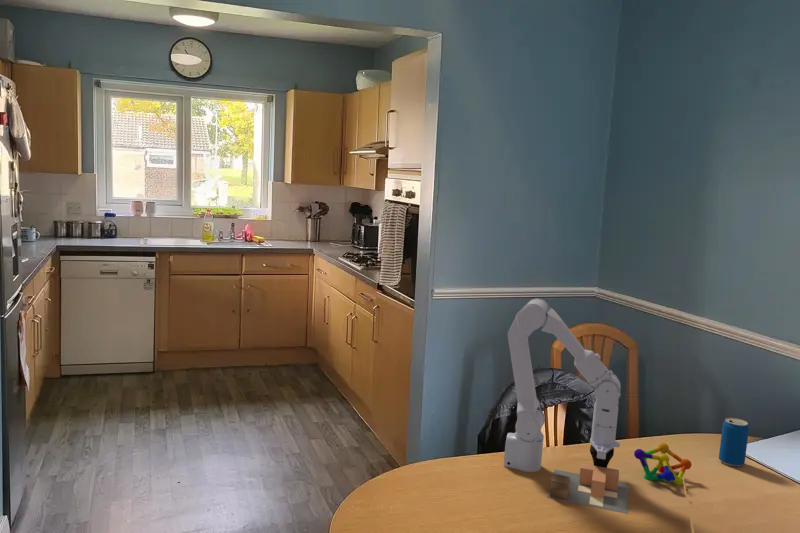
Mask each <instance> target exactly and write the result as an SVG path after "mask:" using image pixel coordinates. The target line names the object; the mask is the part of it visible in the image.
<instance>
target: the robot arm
mask: <svg viewBox="0 0 800 533" xmlns="http://www.w3.org/2000/svg"><path fill="white" fill-rule="evenodd" d="M541 327H542V329H541V332H544V333H547V334H552V335H554V337H555V338H556V339H557V340H558V341H559V342H560V343H561V344H562V345H563V346H564V348H566V350H567V351H568V352H569V353H570V354H571V356H573V357H574V361H573V364H574V367H575V368H576V369H577V370H578V372H579V373H580V374H581V375H582V377H584V379H585V380H586V381H587V383H588V384H589V385H590V386H591V387H593V388H594V394H595V403H594V405H593V414H592V415H593V416H592V424H591V425H592V426H591V435H590V438H589V443H590V448H589V453H590V455H591V457H592V463H593V465H594V466H600V467H605V468H608V465H609V463H610V461H611V460H612V459H613V457H614V454H615V453H614V452H615V448H620V445H621V444H620V443H621V442H619V441H616V434H617V425H618V416H619V415H618V414H619V404H620V403H619V402H620V401H619V399H620V398H621V395H622V394H621V387H622V386H621V382H620V379H619V378H618V375H616V374H615V373H614V372H613V371H612V370H611V369H610V370H609V369H608V368H607V366H606V365H605V364H604V363H603V362H602V360H601V355H600V354H599V352H598V353H595V352H594V351H593V350H588V349H585V348H584V346H583V345H582V344H581V343H580V341H579V339H577V338H576V336H575V334H574V333H573V332H572V331H571V330H570V329H569V327H568V326H567V324H566V323H565V322H564V320H563V319H562V318H561V316H560V315H559V314H558V313H557V312H556V310H554V309H553V308H552V307H550V305H549V303H547V301H545V299H541V298H533V299H530V300H529V301H527V303H526V304H525V305H523V307H522V308H521V309H520V310H519V311H518V312H517V313H516V314H515V317H514V319H513V321H512V324H511V326H510V327H509V329H508V331H507V340H508V346H509V353H510V360H511V366H512V374H513V380H514V381H513V382H514V386H515V387H514V388H515V392H516V393H515V394H516V400H517V405H516V406H517V407H516V417H517V420H516V422H515V432H507V435H506V437H505V438H506V440H505V444H504V454H503V455H504V456H503V467H505V468H509V469H510V468H511V469H515V470H519V471H522V472H526V473H535V472H538V471H540V470H541V469H542V458H543V448H544V438H545V437H544V434H543V432H542V428H543V427H544V424H545V422H546V416H545V413H544V412H543V409H541V406H540V402H539V399H538V397H537V391H536V385H535V378H534V372H533V366H532V359H531V358H532V356H531V352H530V345H529V336H531V334H532V333H533V332H534V331H536V330H538V329H539V328H541Z"/></svg>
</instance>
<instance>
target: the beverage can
mask: <svg viewBox="0 0 800 533" xmlns="http://www.w3.org/2000/svg"><path fill="white" fill-rule="evenodd" d="M748 424H749V423H748V422H747V421H746V420H744V419H740V418H737V417H726V418H725V419H724V421H723V422H722V427H721V428H722V429H721V434H720V435H721V437H720V445H719V454H718V460H720V461H721V463H722V464H724V465H725V464H726V465H725V466H728V465H729V466H728V467H732V466H737V467H736V468H739V467H738V466H740V467H741V466H743V465H745V462H746V454H747V449H748V448H747V447H748V442H749V441H748V438H749V431H750V427H749V425H748Z"/></svg>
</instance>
